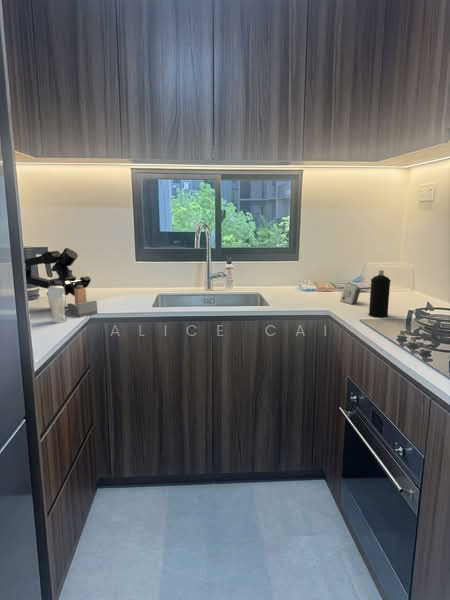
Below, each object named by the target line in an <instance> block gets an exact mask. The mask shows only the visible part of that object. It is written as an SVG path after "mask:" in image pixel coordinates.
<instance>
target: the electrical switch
mask: <svg viewBox="0 0 450 600" xmlns="http://www.w3.org/2000/svg"><path fill="white" fill-rule="evenodd" d="M361 290H362V289H361V288H358V286H357V285H352V284H350V283H349V284H348V283H345V284H344V286H343V290H342V292H341V297H340V302H342V303H346V304H349V305H353V304H355V305H356V304H357V303H358V299H359V296H360V293H361Z"/></svg>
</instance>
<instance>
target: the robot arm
mask: <svg viewBox="0 0 450 600" xmlns="http://www.w3.org/2000/svg"><path fill="white" fill-rule="evenodd" d="M78 257H79V256H78V253H77V251H74V250H73V249H70V248H69V247H66V248H64V250H63V251H62V252H61V253H60V251H58V250H54V251H52V250H51V251H46V252H44V253H41V254H40V255H39V256H33V257H30V258H24V259H25V263H26V267H25V270H26V279H27V283H26V284H28V285H31V286H36V287H40V288H42V289H46V290H48V287H50V286H64V288H65V294H66V296H68V295H72V296H73V297H74V298H75V295H74V289H75V288H76V286H78V285H83V288H87V287H89V285H90V283H91V281H92V280H91V277H90V276H81V277H80V278H79V279H77V277H76V275H75V276H74V275H73V274H72V272H73V270H72V269H70V268H69V267H71V266H72V265H73V264H74V263H75V261H77V259H78ZM43 264H44V265H51V264H54V265H52V268H51V272H56V274H57V276H58V277H57V278H52V279H47V278H43V277H41V276H40V277H39V276H37V275H36V276H35V275H32V267H33V266H38V265H43ZM76 279H77V280H76ZM46 295H47V297H48V291H47V293H46ZM49 309H50V310H51V308H50V307H49ZM67 309H68V306H67V305H65V310H67Z"/></svg>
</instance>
